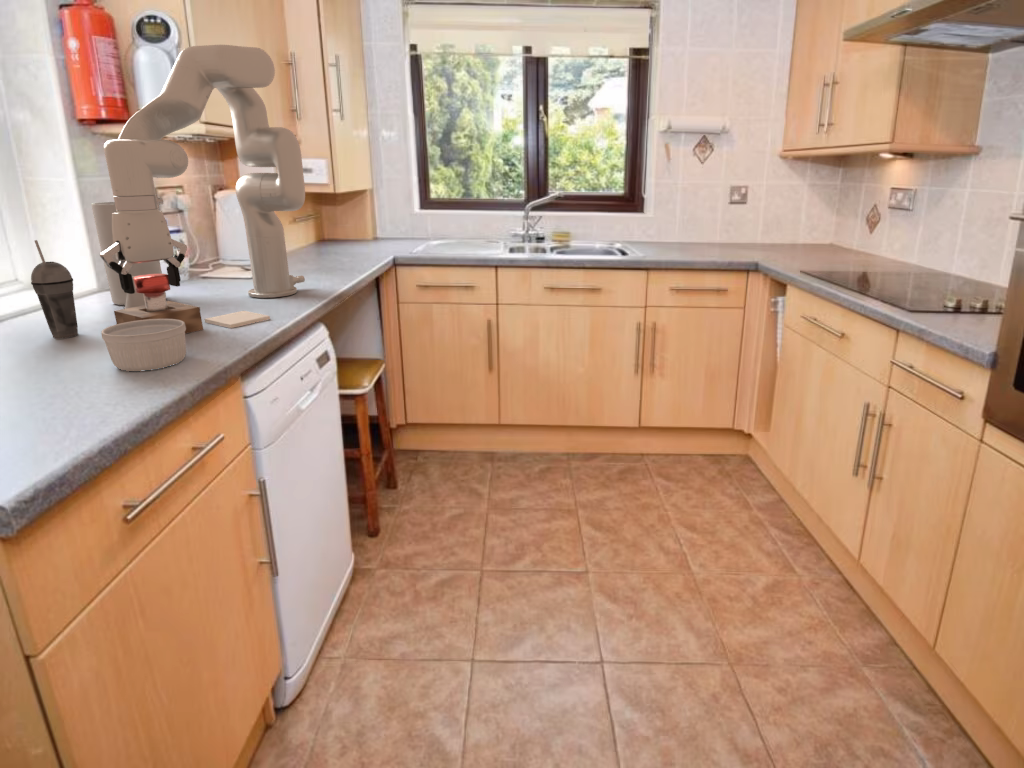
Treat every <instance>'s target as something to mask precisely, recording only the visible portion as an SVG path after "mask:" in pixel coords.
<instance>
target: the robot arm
mask: <svg viewBox="0 0 1024 768" xmlns="http://www.w3.org/2000/svg"><path fill="white" fill-rule="evenodd" d="M275 69H276V67H275V64H274V62H273V60H272V58H271V56H270V55H269V54H268V53H267V51H265V50H264V49H261V48H260V47H253V46H242V45H233V44H230V45H229V44H208V45H193V46H192V45H191V46H187V47H185V48H184V49H182V50H181V51H180V52H179V54H178V55H177V57H176V59H175V62H174V64H173V66H172V68H171V71H170V73H169V74H168V77H167V79H166V81H165V83H164V85H163V86H162V87H163V88H162V90H161V92H160V93H159V94H158V95H157V96H156V97H155V98H153V99H152V100H151V101H149V102H148V103H146V104H145V105H144V106H143V107H141V109H138V111H136V112H135V113H134V114H133V115H132V116H131V117H130V118H129V119H128V120H127V121H126V123H125V125H123V128H122V129H121V132H120V134H119V135H118V138H117V139H109V140H106V142H105V143H104V144H103V150H104V156H105V161H106V166H107V170H108V171H107V172H108V175H109V181H110V185H111V191H112V196H113V200H114V201H113V202H115V206H116V211H117V213H112V234H113V243H114V244H113V245H112V246H111V247H109V248H108V249H106V250H105V251H103V252H100V254H99V257H100V258H101V260H102V261H103V263H104V262H105V263H106V264H107V266H108V267H110V268H111V269H113V270H114V271H115V272H116V273H118V274H119V278H120V283H121V288H122V289H123V290H124V292H125V293H129V294H134V293H135V290H134V285H133V280H132V275H131V274H129V273H128V271H129V270H130V268H131V266H132V265H133V263H143V262H151V261H159V260H160V261H163V262H165V263H166V264H167V265H168V266H166V274H167V275H168V279H169V284H170V286H171V287H181V273H180V269H179V268H180V267H181V264H182V262H183V261H184V259H185V256H186V255H185V254H186V252H187V249H188V245H187V244H184V243H182V242H180V241H178V240H175V239H173V238H172V237H171V233H170V229H169V225H168V223H167V220H166V217H165V215H164V212H163V210H159V209H160V205H164V199H163V198H162V197H158V195H157V194H156V188H155V182H154V178H156V179H169V178H172V179H173V178H176V177H177V178H178V177H179V176H181V175H183V174H184V173H185V172H186V171H187V169H188V168H189V167H188V166H189V157H188V154H187V152H186V151H185V149H184V148H183V147H182V146H181V145H180V144H179V143H177V142H175V141H172V140H168V139H163V138H165V137H166V136H168V135H170V134H173V133H175V132H178V131H180V130H182V129H185V128H187V127H189V126H192V125H193V124H195V123H197V121H199V120H200V119H201V117H202V116H203V112H204V110H205V108H206V105H207V103H208V101H209V98H210V97H211V94H212V92H213V90H214V89H216V90H217V91H218V92H219V93H220V94H221V96H222V98H224V99H225V102H226V103H227V106H228V108H229V111H230V116H231V121H232V129H233V135H234V143H235V144H234V145H235V149H236V150H235V151H236V154H237V157H238V160H239V161H240V162H241V164H242V165H245V166H247V167H249V168H250V167H251V168H276V172H250V173H247V174H244V175H242V176H240V177H239V178H238V180H237V181H236V183H235V184H236V185H235V194H236V198H237V202H238V204H239V207H240V211H241V214H242V218H243V222H244V228H245V229H244V230H245V236H246V241H247V248H248V250H247V251H248V255H249V264H250V269H251V276H252V277H251V278H252V284H253V288H251V289H249V290H248V296H249V297H252V298H258V299H259V298H260V299H270V298H271V299H272V298H282V297H287V296H291V295H294V294H296V293H298V289H297V287H296V284H301V283H305V280H306V279H305V276H304V275H298V276H293V275H292V274H290V271H289V263H288V255H287V254H288V253H287V246H286V239H285V230H284V227H283V226H284V225H283V223H282V222H281V220H280V218H279V216H278V215H277V214H276V212H294V211H295V212H296V211H298V210H300V209H301V208H303V206H304V204H305V200H306V186H305V175H304V167H303V160H302V159H303V158H302V151H301V150H302V149H301V145H300V143H299V140H298V138H297V136H296V135H295V134H294V132H293V131H291V130H290V129H288V128H287V127H282V126H281V127H280V126H275V127H273V126H272V127H270V123H269V119H268V112H267V111H268V110H267V108H266V104H265V102H264V100H263V99H262V97H261V96H260V94H259V93H258V92H257V90H255V89H260V88H267V87H268V86H270V85H271V84H272V82H273V81H274V78H275V73H276V70H275ZM174 248H176V250H177V251H176V253H175V252H174ZM174 253H175V255H174ZM114 254H115V255H116V258H117V260H118V261H120V262H119V264H117V263H116V262H114V260H113V259H112V256H113V255H114Z"/></svg>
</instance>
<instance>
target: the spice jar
mask: <svg viewBox="0 0 1024 768" xmlns="http://www.w3.org/2000/svg"><path fill="white" fill-rule="evenodd" d="M133 279H134V284H135V288H136V292H137V293H143V295H144V300H145V305H146V310H147V312H149V313H153V312H158V311H164V310H168V307H167V302H166V301H167V296H166V297H165V292H167V291H170V290H171V285H170V284H169V279H168V273H162V274H146V275H139V276H135V277H133ZM164 291H165V292H164Z"/></svg>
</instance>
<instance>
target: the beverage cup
mask: <svg viewBox="0 0 1024 768" xmlns="http://www.w3.org/2000/svg"><path fill="white" fill-rule="evenodd" d="M34 243H35V247H36V248H37V251H38V254H39V257H40V259H41V261H42V262H40V263H38V264H37V265H36V266H35V267H34V268H33V269H32V272H31V276H30V285H31V286H32V288H33V290H34V292H35V294H36V295H37V298H38V301H39V304H40V306H41V309H42V312H43V315H44V318H45V320H46V323H47V326H48V329H49V331H50V333H51V336H52V338H54V339H67V338H68V339H70V338H73V337H77V336H79V329H78V319H77V313H76V305H75V299H74V298H75V297H74V278H73V276H72V274H71V272H70V271H69V269H68V268H67V267H66V266H65V265H63V264H61V263H59V262H56V261H46V259H45V257H44V255H43V252H42V250H41V249H42V248H41V247H40V245H39V242H38V240H37V239H35V240H34Z"/></svg>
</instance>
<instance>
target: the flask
mask: <svg viewBox="0 0 1024 768" xmlns="http://www.w3.org/2000/svg"><path fill="white" fill-rule="evenodd" d="M133 277H135V276H132V280H133V285H134V290H135V293H134V294H129V293H127V298H126V304H125V305H124V309H127V308H133V307H138V306H144V305H145V300H144V295H143V293H137V292H136V288H135V284H134V279H133Z"/></svg>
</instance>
